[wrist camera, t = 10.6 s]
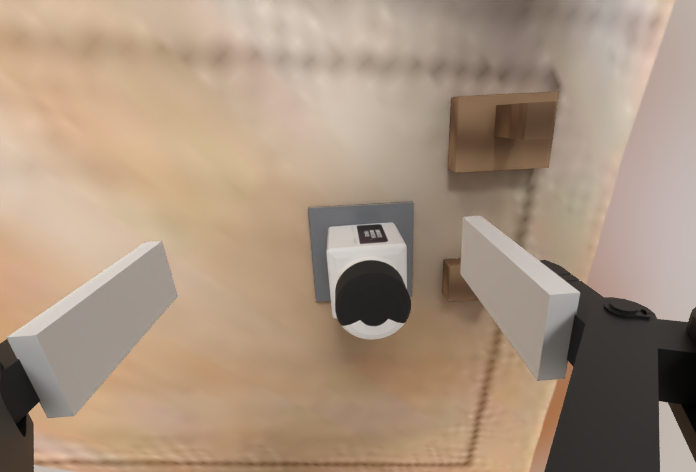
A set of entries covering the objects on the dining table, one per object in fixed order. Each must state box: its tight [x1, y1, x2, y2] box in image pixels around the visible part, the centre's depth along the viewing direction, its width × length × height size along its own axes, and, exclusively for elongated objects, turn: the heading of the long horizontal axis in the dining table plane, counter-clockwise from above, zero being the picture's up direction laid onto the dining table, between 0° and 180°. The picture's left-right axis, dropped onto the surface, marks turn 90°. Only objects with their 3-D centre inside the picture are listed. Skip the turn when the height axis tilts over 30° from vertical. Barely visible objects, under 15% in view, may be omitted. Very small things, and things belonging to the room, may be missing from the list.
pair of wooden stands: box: [442, 91, 559, 302], centre depth 36 cm, size 23×10×8 cm, turn 3°
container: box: [326, 222, 411, 340], centre depth 35 cm, size 8×8×13 cm
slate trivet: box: [308, 202, 413, 302], centre depth 41 cm, size 12×12×1 cm
